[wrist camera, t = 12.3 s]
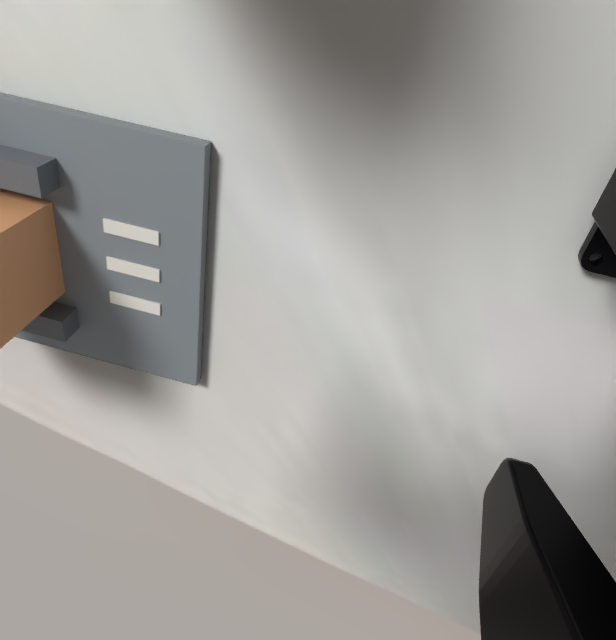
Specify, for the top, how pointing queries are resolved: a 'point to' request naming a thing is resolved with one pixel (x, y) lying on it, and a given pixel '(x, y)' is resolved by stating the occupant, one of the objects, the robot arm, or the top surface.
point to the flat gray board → (116, 233)
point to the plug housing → (26, 261)
